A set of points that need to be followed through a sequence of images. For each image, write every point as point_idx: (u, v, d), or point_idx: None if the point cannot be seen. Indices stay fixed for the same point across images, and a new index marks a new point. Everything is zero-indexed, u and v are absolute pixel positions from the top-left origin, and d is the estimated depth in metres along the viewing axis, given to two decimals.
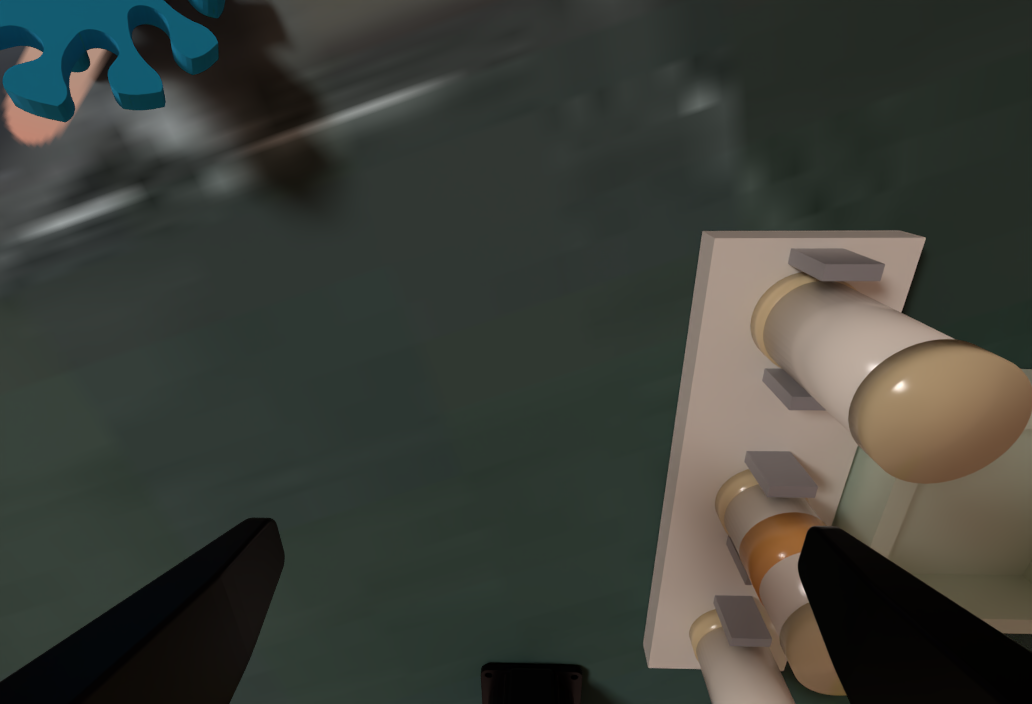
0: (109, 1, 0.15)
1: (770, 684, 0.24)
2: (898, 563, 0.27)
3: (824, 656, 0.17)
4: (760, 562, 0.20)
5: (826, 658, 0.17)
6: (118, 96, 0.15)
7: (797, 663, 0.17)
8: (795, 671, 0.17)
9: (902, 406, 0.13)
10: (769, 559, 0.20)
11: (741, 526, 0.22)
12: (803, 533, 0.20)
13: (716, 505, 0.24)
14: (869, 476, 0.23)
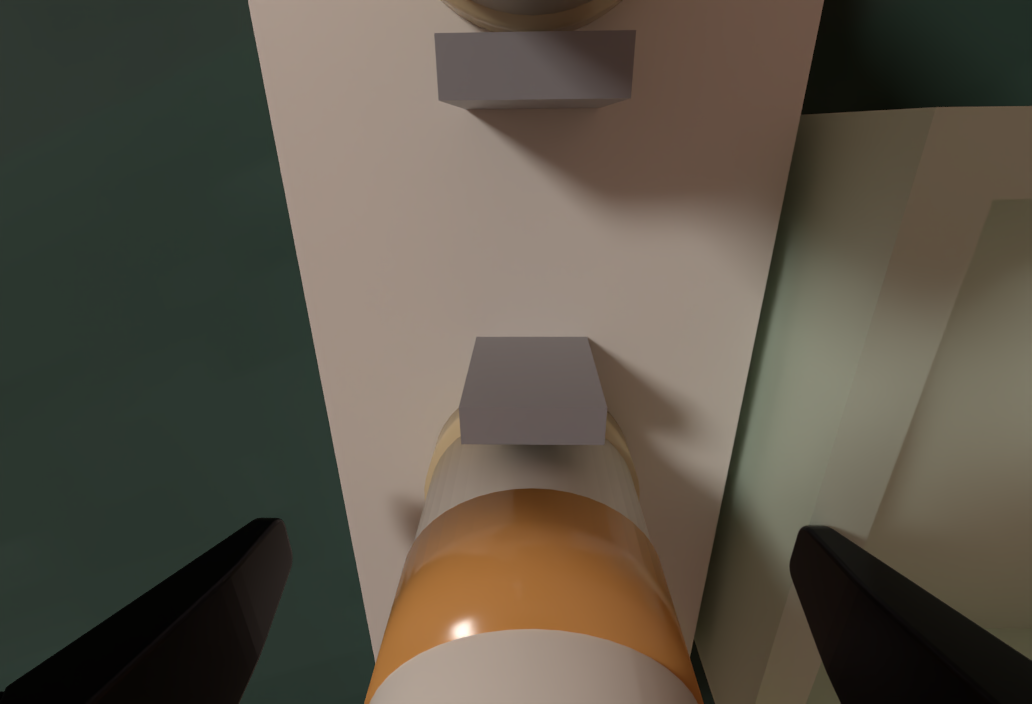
0: None
1: None
2: None
3: None
4: (377, 659, 0.06)
5: None
6: None
7: None
8: None
9: None
10: (386, 654, 0.05)
11: (416, 532, 0.08)
12: (513, 559, 0.06)
13: None
14: (789, 398, 0.09)
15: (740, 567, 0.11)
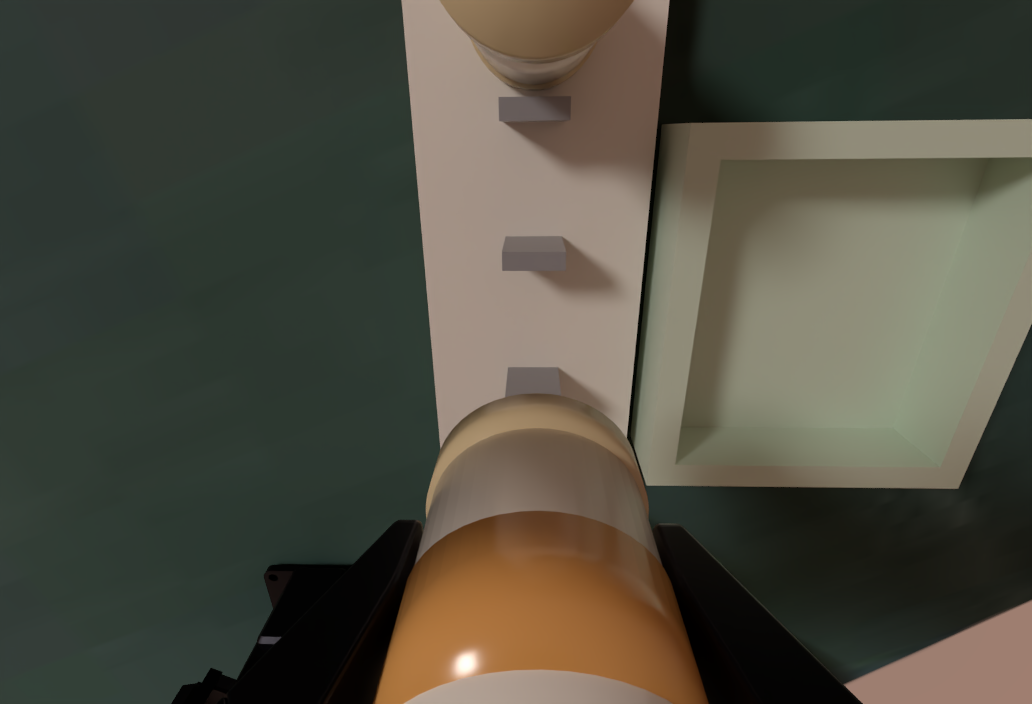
0: None
1: None
2: (736, 412, 0.21)
3: None
4: (375, 694, 0.05)
5: None
6: None
7: None
8: None
9: None
10: (384, 691, 0.05)
11: (417, 553, 0.07)
12: (518, 589, 0.05)
13: None
14: (661, 264, 0.17)
15: (648, 372, 0.19)
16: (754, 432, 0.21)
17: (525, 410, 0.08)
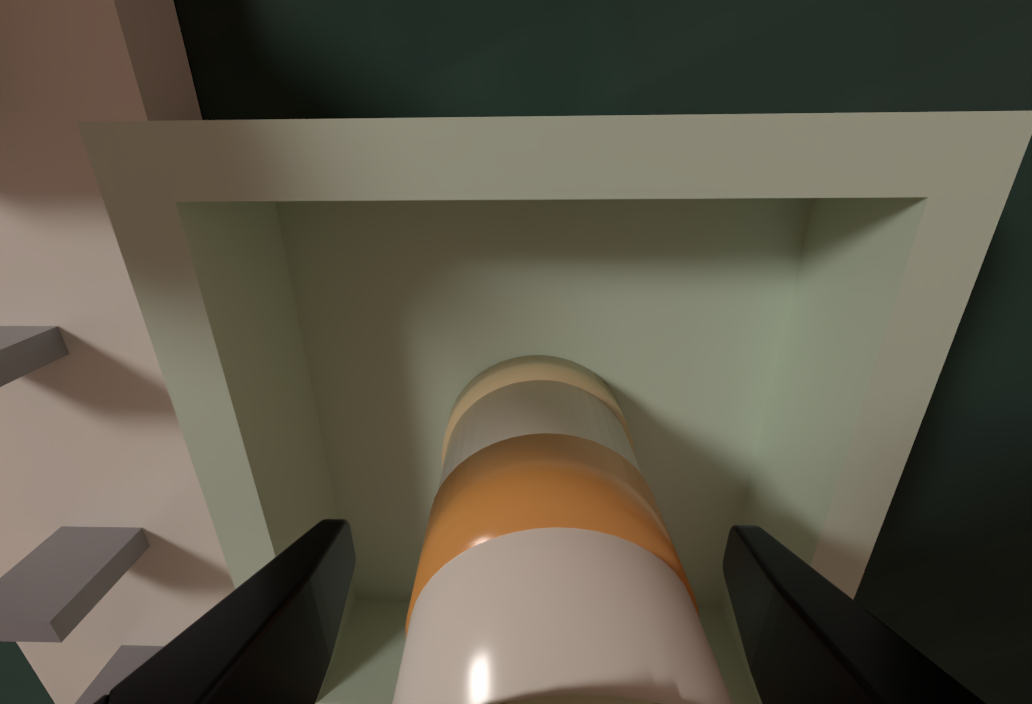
0: None
1: None
2: None
3: None
4: (417, 573, 0.07)
5: None
6: None
7: None
8: None
9: None
10: (427, 563, 0.06)
11: (440, 482, 0.09)
12: (533, 481, 0.07)
13: None
14: None
15: None
16: None
17: (527, 367, 0.10)
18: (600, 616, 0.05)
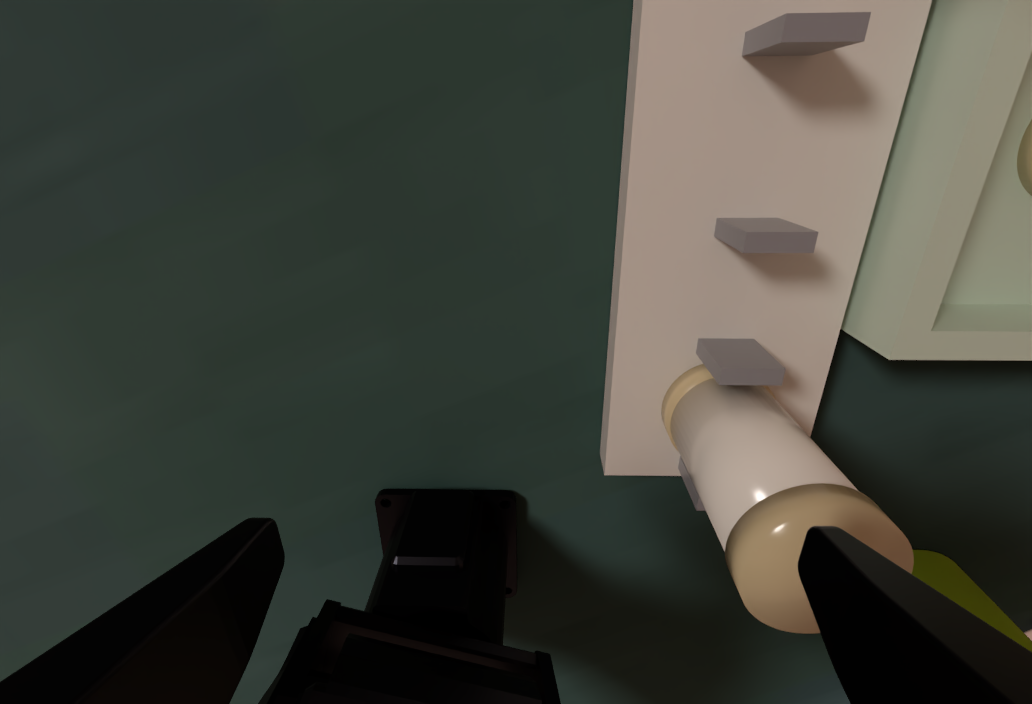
0: None
1: (783, 424, 0.15)
2: (974, 284, 0.18)
3: None
4: None
5: None
6: None
7: None
8: None
9: None
10: None
11: None
12: None
13: (1024, 147, 0.16)
14: (948, 62, 0.14)
15: (895, 219, 0.16)
16: (997, 307, 0.18)
17: None
18: None
